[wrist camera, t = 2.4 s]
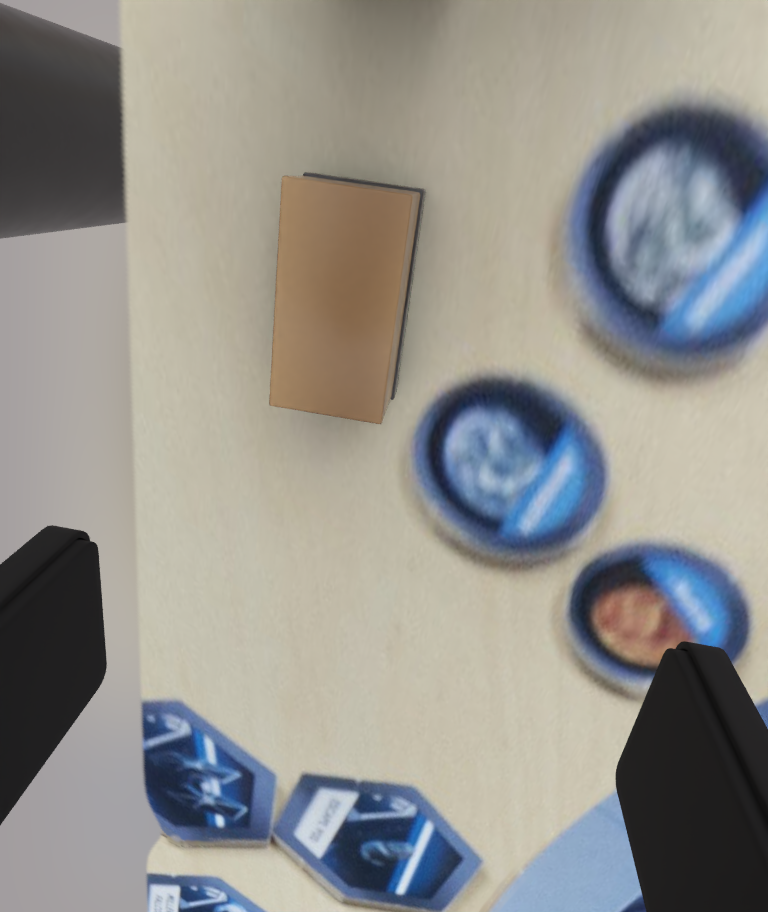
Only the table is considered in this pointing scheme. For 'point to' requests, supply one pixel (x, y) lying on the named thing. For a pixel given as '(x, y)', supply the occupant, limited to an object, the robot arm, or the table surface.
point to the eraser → (342, 293)
